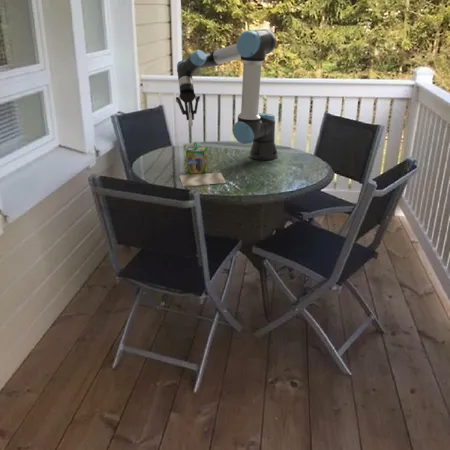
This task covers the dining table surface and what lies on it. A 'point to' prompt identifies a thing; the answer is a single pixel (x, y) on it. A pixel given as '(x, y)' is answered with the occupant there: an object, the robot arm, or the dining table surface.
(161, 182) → the dining table surface
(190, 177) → the board
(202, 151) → the chalk box
